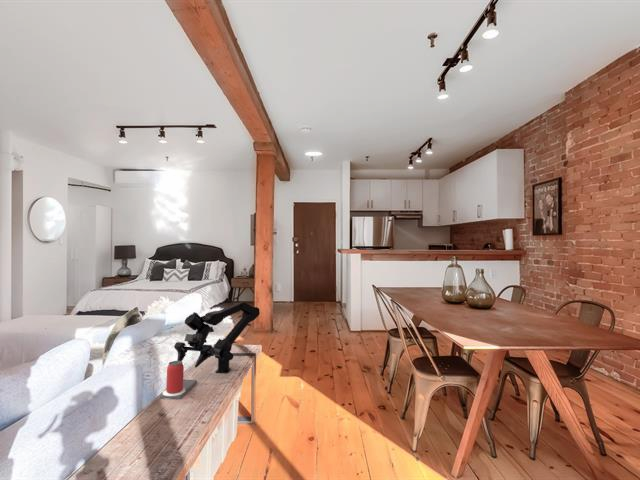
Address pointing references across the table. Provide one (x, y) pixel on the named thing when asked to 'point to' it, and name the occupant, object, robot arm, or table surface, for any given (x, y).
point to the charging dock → (186, 387)
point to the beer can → (175, 377)
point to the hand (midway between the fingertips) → (186, 366)
